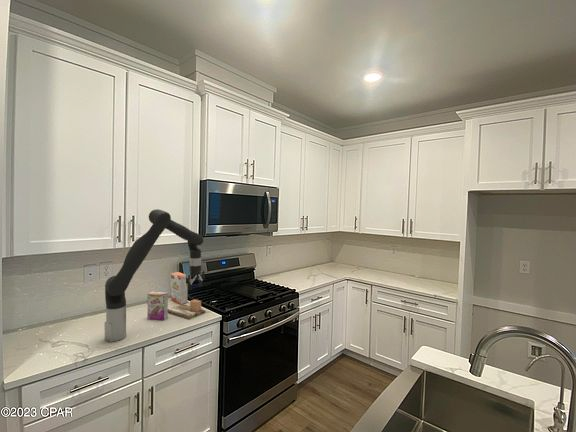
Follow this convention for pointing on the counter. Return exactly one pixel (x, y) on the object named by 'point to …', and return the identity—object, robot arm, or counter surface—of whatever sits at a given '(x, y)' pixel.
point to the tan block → (195, 305)
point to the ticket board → (184, 312)
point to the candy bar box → (157, 305)
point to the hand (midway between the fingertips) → (195, 288)
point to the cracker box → (178, 287)
